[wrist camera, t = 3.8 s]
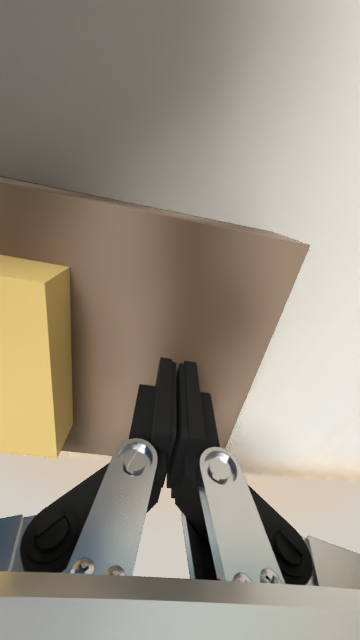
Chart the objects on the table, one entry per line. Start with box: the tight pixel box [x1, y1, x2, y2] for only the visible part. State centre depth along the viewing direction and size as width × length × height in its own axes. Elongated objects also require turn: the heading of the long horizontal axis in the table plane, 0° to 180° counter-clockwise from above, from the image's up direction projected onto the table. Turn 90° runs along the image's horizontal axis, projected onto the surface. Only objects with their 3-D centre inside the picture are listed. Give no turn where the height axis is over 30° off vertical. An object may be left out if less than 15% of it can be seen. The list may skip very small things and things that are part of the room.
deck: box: [0, 176, 310, 456], centre depth 13 cm, size 20×14×4 cm
